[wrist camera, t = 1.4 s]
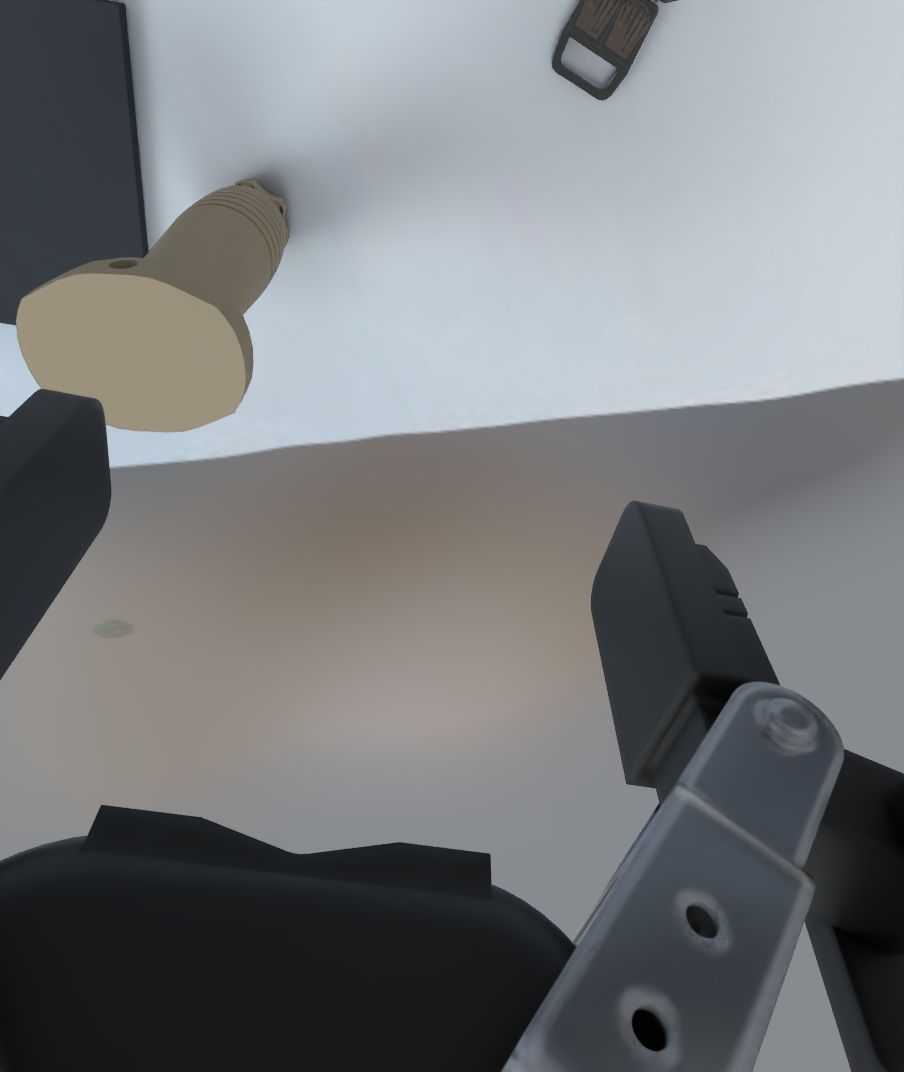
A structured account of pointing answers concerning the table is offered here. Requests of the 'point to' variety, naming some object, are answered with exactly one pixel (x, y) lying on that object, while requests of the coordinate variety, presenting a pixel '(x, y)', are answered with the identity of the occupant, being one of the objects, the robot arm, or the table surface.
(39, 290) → the handle
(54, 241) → the mat
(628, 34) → the strap clip
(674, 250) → the table surface
